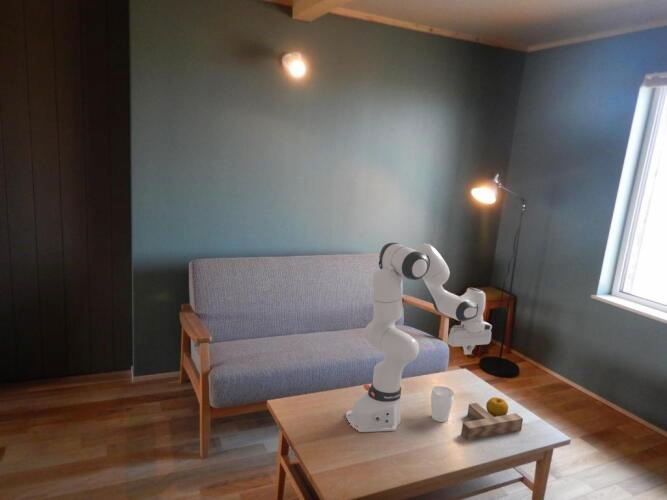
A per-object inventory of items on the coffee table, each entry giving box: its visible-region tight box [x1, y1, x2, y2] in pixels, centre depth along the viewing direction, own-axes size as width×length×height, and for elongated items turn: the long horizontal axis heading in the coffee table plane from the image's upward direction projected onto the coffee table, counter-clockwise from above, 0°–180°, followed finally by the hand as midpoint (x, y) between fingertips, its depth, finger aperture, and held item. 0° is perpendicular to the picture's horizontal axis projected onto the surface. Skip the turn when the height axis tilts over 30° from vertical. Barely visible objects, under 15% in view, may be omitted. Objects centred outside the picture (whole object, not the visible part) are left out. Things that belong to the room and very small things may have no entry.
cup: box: [430, 385, 455, 423], centre depth 188 cm, size 9×9×12 cm
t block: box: [460, 402, 524, 441], centre depth 186 cm, size 26×15×5 cm, turn 110°
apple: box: [485, 396, 509, 417], centre depth 191 cm, size 9×8×9 cm
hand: (467, 354), depth 202 cm, fingers closed
